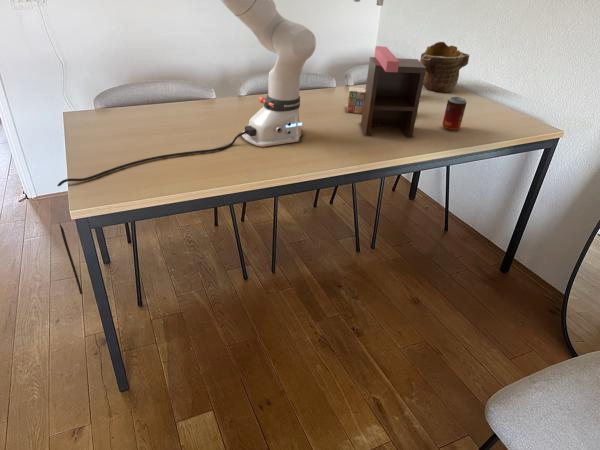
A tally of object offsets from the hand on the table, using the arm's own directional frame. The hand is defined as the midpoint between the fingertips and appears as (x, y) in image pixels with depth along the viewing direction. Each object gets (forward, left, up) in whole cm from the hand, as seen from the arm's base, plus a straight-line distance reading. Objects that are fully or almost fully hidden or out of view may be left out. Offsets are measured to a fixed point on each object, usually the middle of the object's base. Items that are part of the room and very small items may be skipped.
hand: (367, 3), depth 151 cm
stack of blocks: (+20, +10, -45) cm, 50 cm away
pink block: (+4, -8, -18) cm, 20 cm away
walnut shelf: (+10, -8, -44) cm, 46 cm away
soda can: (+35, -20, -45) cm, 60 cm away
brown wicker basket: (+74, +19, -45) cm, 88 cm away
